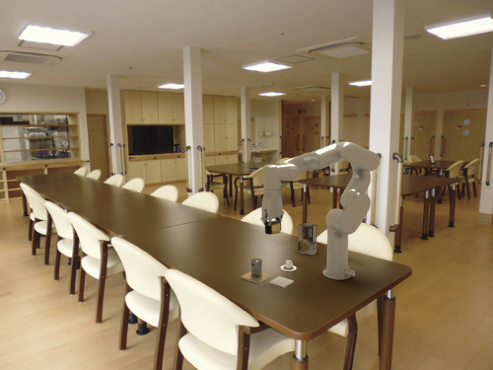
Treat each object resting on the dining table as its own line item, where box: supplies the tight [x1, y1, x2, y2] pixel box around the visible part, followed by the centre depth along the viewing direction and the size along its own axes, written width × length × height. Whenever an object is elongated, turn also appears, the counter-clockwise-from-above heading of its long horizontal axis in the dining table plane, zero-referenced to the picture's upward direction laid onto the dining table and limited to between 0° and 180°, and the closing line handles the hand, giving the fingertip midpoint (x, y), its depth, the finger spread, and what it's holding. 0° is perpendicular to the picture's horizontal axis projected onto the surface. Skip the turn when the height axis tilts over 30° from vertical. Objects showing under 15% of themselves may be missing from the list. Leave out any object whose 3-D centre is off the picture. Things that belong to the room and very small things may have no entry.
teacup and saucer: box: [280, 259, 297, 272], centre depth 176 cm, size 9×8×4 cm
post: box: [240, 257, 272, 285], centre depth 163 cm, size 10×10×8 cm
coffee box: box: [297, 222, 318, 256], centre depth 197 cm, size 9×6×16 cm
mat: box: [268, 275, 295, 289], centre depth 158 cm, size 8×8×1 cm
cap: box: [267, 220, 281, 235], centre depth 157 cm, size 6×6×5 cm
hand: (273, 231), depth 157 cm, fingers closed on cap, 6 cm apart
